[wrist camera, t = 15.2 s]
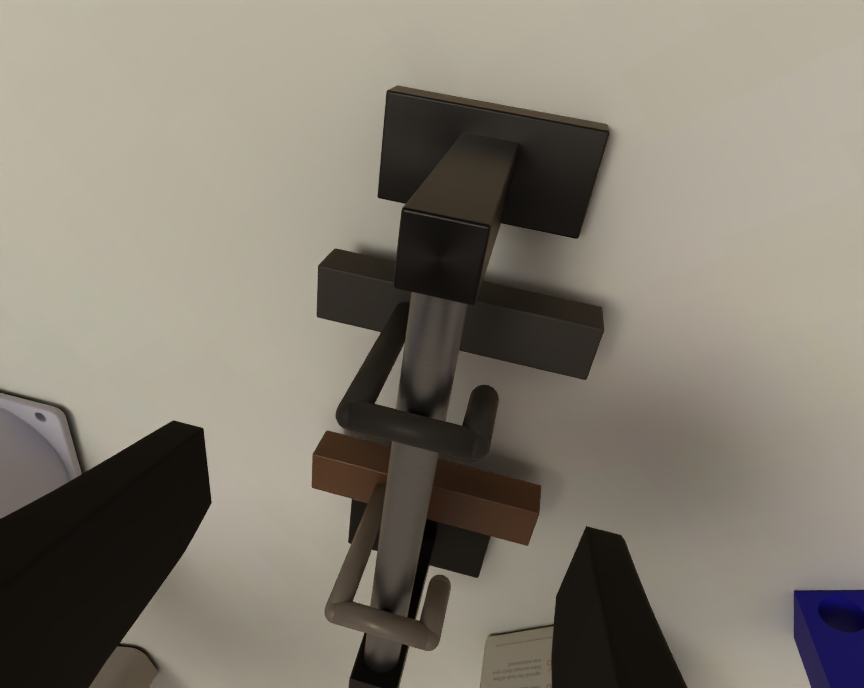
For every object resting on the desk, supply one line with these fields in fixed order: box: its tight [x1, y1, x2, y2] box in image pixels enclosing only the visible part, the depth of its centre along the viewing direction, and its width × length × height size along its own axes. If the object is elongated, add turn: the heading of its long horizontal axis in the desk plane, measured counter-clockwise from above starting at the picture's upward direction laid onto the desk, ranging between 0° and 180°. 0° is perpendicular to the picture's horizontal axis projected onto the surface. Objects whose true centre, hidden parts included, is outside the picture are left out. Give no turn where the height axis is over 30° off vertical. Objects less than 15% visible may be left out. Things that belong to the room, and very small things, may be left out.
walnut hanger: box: [312, 431, 541, 651], centre depth 19 cm, size 8×2×7 cm, turn 82°
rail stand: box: [348, 86, 609, 688], centre depth 18 cm, size 6×19×8 cm, turn 172°
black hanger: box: [317, 249, 604, 462], centre depth 15 cm, size 8×2×7 cm, turn 82°
